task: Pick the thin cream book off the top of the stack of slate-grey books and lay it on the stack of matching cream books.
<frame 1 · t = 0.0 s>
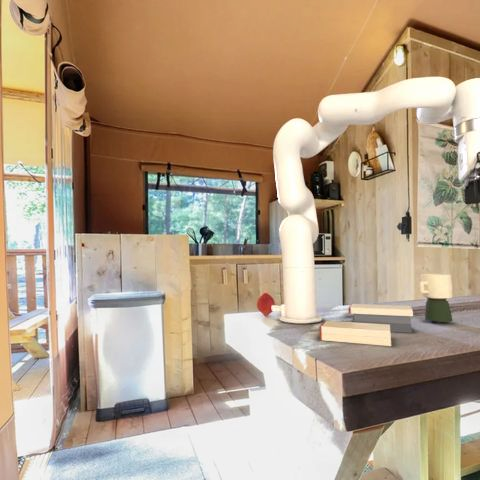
hand: (478, 200, 74), 31 cm above the table, tool pointing down, fingers open, 9 cm apart
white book: (380, 312, 77), point 4 cm above the table, touching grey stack
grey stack: (381, 328, 77), on the table, touching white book
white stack: (355, 339, 68), on the table
onion: (266, 316, 99), on the table, touching arm
character mug: (438, 323, 83), on the table
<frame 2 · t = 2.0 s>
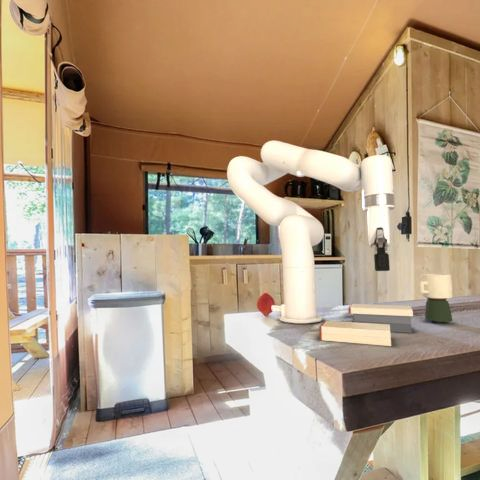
hand: (382, 270, 78), 15 cm above the table, tool pointing down, fingers open, 9 cm apart
nothing on the table moved.
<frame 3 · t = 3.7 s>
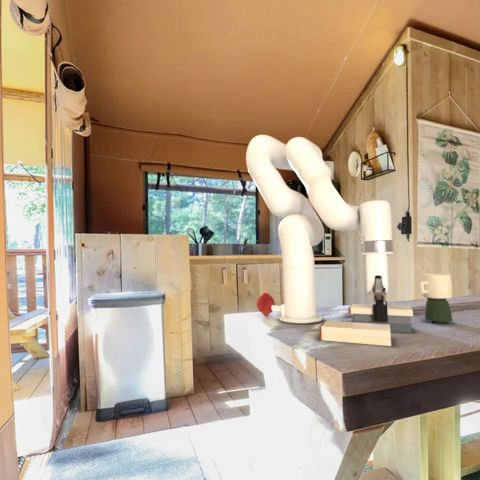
hand: (380, 318, 77), 3 cm above the table, tool pointing down, fingers closed on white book, 7 cm apart
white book: (380, 312, 77), point 4 cm above the table, touching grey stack, gripper
everything else where it was.
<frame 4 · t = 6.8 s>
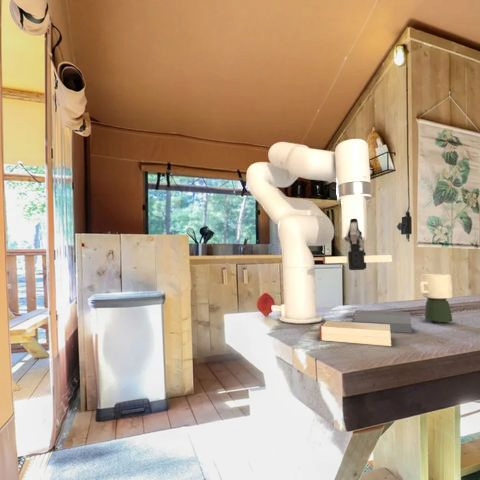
hand: (358, 268, 70), 15 cm above the table, tool pointing down, fingers closed on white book, 7 cm apart
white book: (357, 262, 71), point 17 cm above the table, touching gripper
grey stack: (381, 328, 77), on the table
everything else where it was.
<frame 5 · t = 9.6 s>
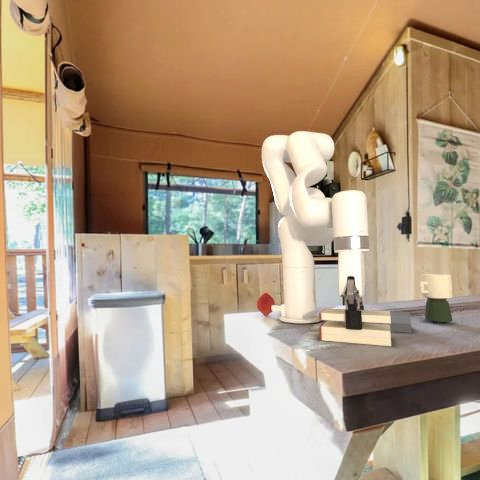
hand: (355, 325, 68), 3 cm above the table, tool pointing down, fingers closed on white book, 7 cm apart
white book: (355, 318, 68), point 4 cm above the table, touching gripper
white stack: (355, 339, 68), on the table, touching gripper
everything else where it was.
when the fingers open (3 cm above the table, at t = 10.2 s): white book stays where it is, resting on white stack.
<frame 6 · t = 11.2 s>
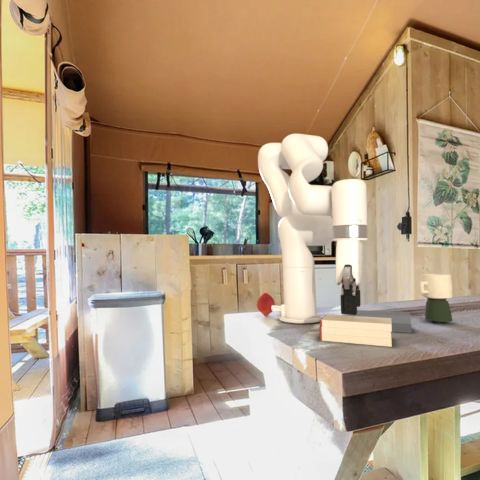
hand: (351, 310, 69), 6 cm above the table, tool pointing down, fingers open, 9 cm apart
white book: (356, 325, 67), point 3 cm above the table, touching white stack
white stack: (356, 339, 67), on the table, touching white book
everything else where it was.
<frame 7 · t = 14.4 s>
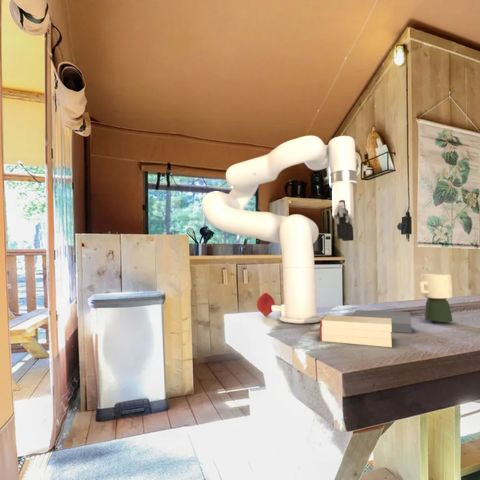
hand: (345, 239, 87), 23 cm above the table, tool pointing down, fingers open, 9 cm apart
nothing on the table moved.
at the end: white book 0.2 cm off-centre on the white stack, point 3.0 cm above the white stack's base; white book touching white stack; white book tilted 0° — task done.
